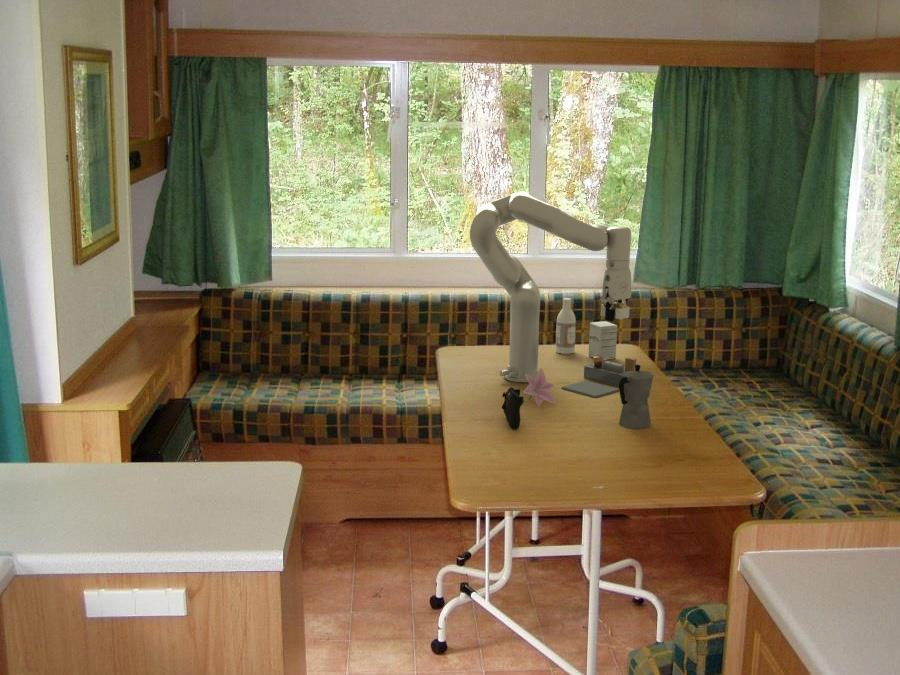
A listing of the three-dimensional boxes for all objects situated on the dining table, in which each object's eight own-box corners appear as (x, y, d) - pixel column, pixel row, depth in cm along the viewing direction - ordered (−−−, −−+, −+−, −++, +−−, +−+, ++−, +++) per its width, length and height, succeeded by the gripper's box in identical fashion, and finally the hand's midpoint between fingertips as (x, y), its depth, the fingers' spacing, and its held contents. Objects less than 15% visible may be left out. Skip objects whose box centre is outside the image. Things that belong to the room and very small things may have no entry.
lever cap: (620, 319, 363) (620, 305, 362) (600, 315, 368) (601, 301, 367) (629, 317, 366) (629, 303, 365) (609, 313, 372) (610, 300, 370)
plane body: (626, 388, 363) (628, 361, 361) (583, 377, 376) (584, 351, 374) (641, 384, 369) (643, 357, 367) (598, 373, 381) (600, 347, 379)
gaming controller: (498, 416, 333) (498, 383, 331) (518, 415, 333) (519, 383, 331) (503, 430, 319) (504, 397, 317) (524, 430, 320) (525, 397, 317)
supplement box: (587, 356, 404) (589, 322, 402) (605, 354, 408) (606, 320, 405) (598, 361, 398) (600, 326, 395) (616, 359, 401) (618, 324, 398)
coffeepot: (633, 416, 334) (636, 357, 330) (660, 423, 328) (664, 363, 324) (603, 427, 323) (606, 367, 319) (631, 434, 317) (634, 373, 313)
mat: (595, 397, 353) (595, 396, 353) (561, 388, 362) (561, 386, 362) (619, 390, 361) (619, 389, 361) (585, 382, 371) (585, 380, 370)
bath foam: (564, 355, 405) (566, 301, 401) (551, 351, 411) (553, 298, 406) (578, 353, 409) (580, 299, 404) (565, 349, 415) (567, 296, 410)
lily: (516, 410, 342) (529, 387, 337) (510, 386, 352) (523, 363, 347) (551, 419, 346) (564, 396, 341) (544, 395, 355) (558, 372, 350)
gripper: (610, 269, 355) (607, 325, 359) (642, 263, 366) (639, 317, 371) (592, 265, 360) (589, 321, 364) (624, 260, 372) (621, 314, 376)
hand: (614, 318), depth 367 cm, fingers closed on lever cap, 4 cm apart
